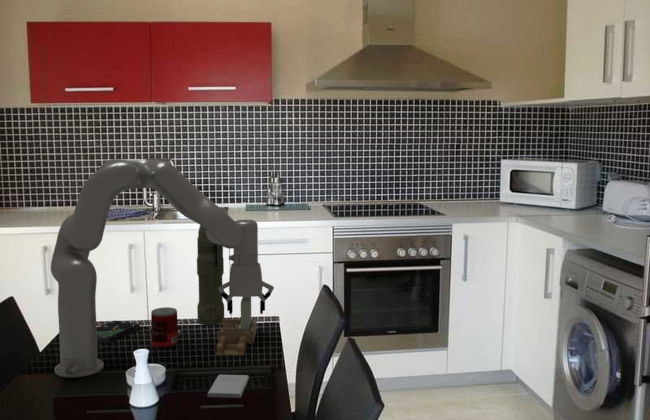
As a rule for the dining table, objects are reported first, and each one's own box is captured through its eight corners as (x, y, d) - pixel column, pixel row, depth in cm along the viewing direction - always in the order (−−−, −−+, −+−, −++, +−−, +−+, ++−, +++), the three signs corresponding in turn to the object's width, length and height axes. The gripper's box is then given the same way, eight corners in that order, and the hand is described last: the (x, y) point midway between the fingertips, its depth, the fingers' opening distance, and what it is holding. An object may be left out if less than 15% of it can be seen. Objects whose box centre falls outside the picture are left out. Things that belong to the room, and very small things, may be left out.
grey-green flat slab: (249, 340, 199) (248, 302, 198) (240, 340, 199) (240, 302, 198) (251, 331, 208) (251, 295, 207) (243, 331, 208) (243, 295, 207)
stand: (243, 358, 187) (243, 346, 186) (215, 358, 186) (215, 346, 186) (246, 346, 196) (246, 335, 196) (220, 347, 196) (220, 335, 196)
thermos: (214, 330, 212) (212, 225, 208) (189, 324, 219) (187, 222, 215) (233, 324, 219) (232, 222, 215) (208, 318, 226) (207, 219, 222)
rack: (253, 346, 197) (253, 332, 197) (217, 346, 197) (216, 332, 196) (256, 332, 211) (256, 319, 210) (222, 332, 211) (222, 319, 210)
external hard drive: (207, 399, 159) (218, 379, 171) (240, 399, 159) (248, 380, 171) (207, 392, 159) (218, 373, 171) (240, 393, 159) (248, 374, 171)
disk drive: (114, 328, 216) (83, 340, 203) (114, 320, 216) (82, 332, 202) (140, 332, 213) (109, 344, 199) (140, 323, 212) (109, 336, 199)
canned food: (176, 340, 202) (175, 306, 201) (179, 348, 195) (178, 313, 193) (151, 342, 200) (150, 308, 198) (152, 351, 192) (151, 315, 191)
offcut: (235, 335, 198) (235, 328, 198) (221, 335, 198) (221, 329, 197) (235, 330, 203) (235, 324, 203) (222, 330, 203) (222, 324, 202)
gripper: (216, 262, 197) (217, 316, 199) (273, 261, 197) (273, 316, 200) (219, 257, 204) (220, 309, 206) (274, 257, 205) (274, 309, 207)
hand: (246, 313), depth 203 cm, fingers open, 9 cm apart
